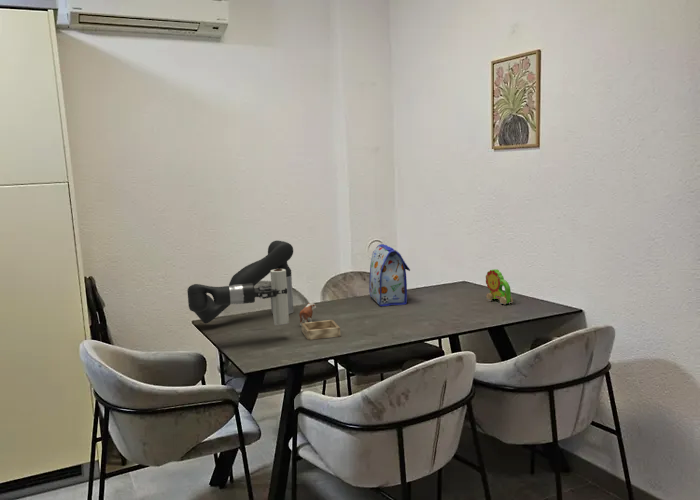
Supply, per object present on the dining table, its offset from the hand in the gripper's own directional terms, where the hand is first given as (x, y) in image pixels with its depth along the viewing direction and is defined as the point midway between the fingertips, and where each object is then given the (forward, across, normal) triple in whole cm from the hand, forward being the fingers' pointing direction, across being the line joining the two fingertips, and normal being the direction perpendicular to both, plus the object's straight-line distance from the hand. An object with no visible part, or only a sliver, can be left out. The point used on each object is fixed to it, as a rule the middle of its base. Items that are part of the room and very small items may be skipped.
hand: (285, 289), depth 242 cm
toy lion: (+102, -21, -20) cm, 106 cm away
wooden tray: (+13, 0, -19) cm, 23 cm away
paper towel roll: (-3, 0, -13) cm, 14 cm away
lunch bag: (+56, -44, -20) cm, 74 cm away
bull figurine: (+11, -18, -20) cm, 29 cm away
